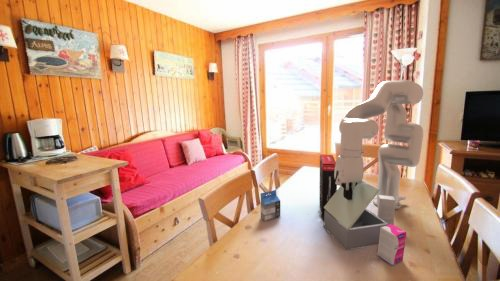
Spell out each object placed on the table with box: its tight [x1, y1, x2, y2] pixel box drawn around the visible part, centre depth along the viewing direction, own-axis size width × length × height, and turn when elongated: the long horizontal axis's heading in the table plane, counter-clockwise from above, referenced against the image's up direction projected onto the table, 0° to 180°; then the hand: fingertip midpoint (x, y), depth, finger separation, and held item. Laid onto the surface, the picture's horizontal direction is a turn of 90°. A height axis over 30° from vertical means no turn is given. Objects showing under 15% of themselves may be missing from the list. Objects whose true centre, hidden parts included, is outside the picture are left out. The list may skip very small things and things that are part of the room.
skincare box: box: [376, 195, 396, 225], centre depth 106 cm, size 6×4×12 cm
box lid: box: [324, 180, 380, 230], centre depth 95 cm, size 18×17×1 cm
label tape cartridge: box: [260, 189, 281, 222], centre depth 112 cm, size 9×4×12 cm, turn 118°
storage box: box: [323, 208, 389, 251], centre depth 97 cm, size 18×16×8 cm
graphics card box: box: [319, 153, 338, 221], centre depth 115 cm, size 17×7×27 cm, turn 168°
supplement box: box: [377, 224, 407, 267], centre depth 82 cm, size 6×6×12 cm
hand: (347, 198), depth 94 cm, fingers closed
